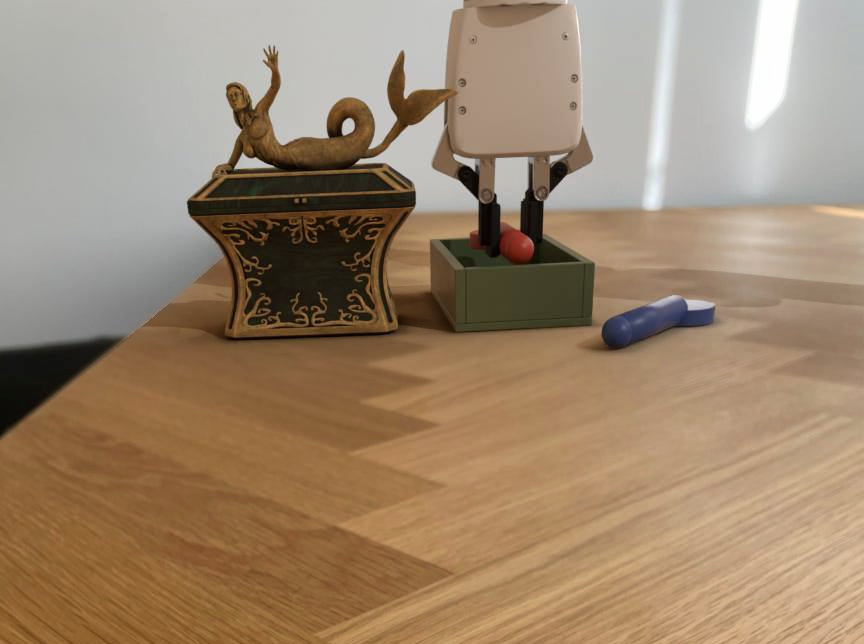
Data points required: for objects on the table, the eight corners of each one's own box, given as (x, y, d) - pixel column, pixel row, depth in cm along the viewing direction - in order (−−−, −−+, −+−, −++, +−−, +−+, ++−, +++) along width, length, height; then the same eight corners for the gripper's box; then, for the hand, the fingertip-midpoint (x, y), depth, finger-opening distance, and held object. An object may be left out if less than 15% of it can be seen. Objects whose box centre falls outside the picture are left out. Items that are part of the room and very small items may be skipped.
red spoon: (466, 244, 92) (466, 217, 91) (518, 242, 92) (518, 215, 91) (491, 268, 79) (491, 237, 78) (551, 265, 79) (552, 235, 78)
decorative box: (200, 344, 80) (165, 48, 71) (219, 319, 88) (190, 53, 79) (462, 334, 79) (461, 35, 70) (455, 310, 88) (453, 41, 79)
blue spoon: (667, 313, 84) (670, 284, 83) (723, 318, 81) (726, 288, 80) (579, 348, 74) (581, 316, 73) (639, 355, 71) (642, 321, 70)
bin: (544, 286, 97) (545, 233, 95) (591, 325, 81) (595, 262, 79) (430, 292, 97) (429, 239, 95) (455, 332, 80) (455, 269, 78)
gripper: (611, -14, 79) (597, 244, 88) (400, -7, 78) (406, 253, 87) (639, -24, 72) (620, 256, 81) (409, -16, 72) (414, 266, 80)
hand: (509, 252), depth 84 cm, fingers closed on red spoon, 2 cm apart
